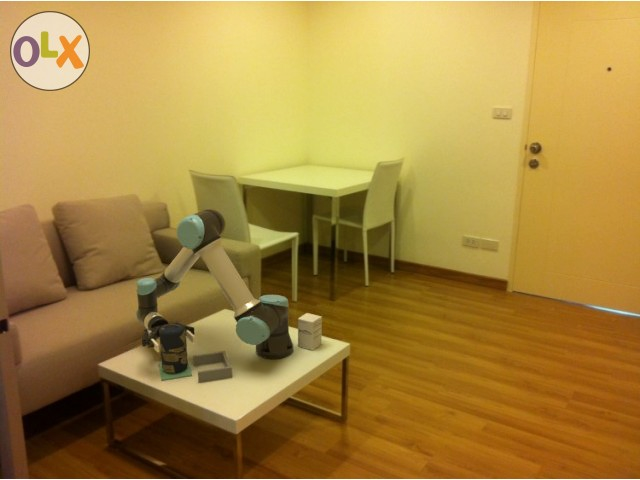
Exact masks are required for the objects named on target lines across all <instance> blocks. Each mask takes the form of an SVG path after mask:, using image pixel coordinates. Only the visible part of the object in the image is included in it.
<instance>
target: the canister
mask: <svg viewBox="0 0 640 480" xmlns="http://www.w3.org/2000/svg"><path fill="white" fill-rule="evenodd" d="M168 323H169V322H168ZM184 325H185V324H183V323H180V322H178V323H176V322H170V323H169V324H166V325H163V326H162V327H161V328H160V329H159V336H160V337H159V343H160V344H159V349H160V358H161V359H160V360H161V363H162V368H163V370H164V371H166V372H169V373H176V372H180V371H183V370H184V369H186V368H187V366H188V361H189V358H188V345H187V336H186V331H185V326H184Z"/></svg>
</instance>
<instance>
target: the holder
mask: <svg viewBox="0 0 640 480" xmlns="http://www.w3.org/2000/svg"><path fill="white" fill-rule="evenodd" d="M218 363H222V364H223V366H224V367H223V366H221V367H217V368H210V369H204V370H197V382H198V384H201V383H205V382H212V381H218V380H226V379H232V378H233V368H232V365H231V362H230V360H229V358H228V355H227V353H226V351H225V350H221V351H214V352H206V353H201V354H194V355H192V364H193V367H198V366H199V367H200V366H205V365H212V364H218Z"/></svg>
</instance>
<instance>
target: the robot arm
mask: <svg viewBox="0 0 640 480" xmlns="http://www.w3.org/2000/svg"><path fill="white" fill-rule="evenodd" d="M226 225H227V224H226V220H225V217H224V216H223V214H222V213H221V212H219V211H218V210H216V209H212V208H211V209H208V208H207V209H203V210H202V211H198V212H196V213H192V214H190V215H188V216H185V217H184V218H182V219H181V220H180V221H179V223H178V225H177V230H176V235H177V240H178V242H179V244H180V245H181V246H182V248H181V250H180V251H179V252H178V254H177V255H176V256H175V257H174V258H173V259H172V261H171V263H170V264H169V265H168V266H167V267H166V268H165V270H164V271H163V272H162V274H161V275H160V276H158V277H157V278H152V277H144V278H140V279H139V280H137V282H136V295H137V296H136V297H137V306H138V307H137V309H136V313H135V315H136V318H137V320H138V322H139V323H140V324H142V325H143V326H144V328H146V329H143V336H142V338H141V343H142V344H141V345H142V347H146V346H147V348H148V349H153V350H155V351H156V353H161V350H160V344H159V343H158V342H157V341H156V340H158V339H160V336H159V329H160V328H161V327H162V326H163V325H166V324H169V322H168V320H167V319H166V318H165V317H164V316H163V315H162V314H161V313H159V308H158V299H160V298H161V297H163V296H165V295H167V294H169V293H170V292H173V291H175V290H176V289H177V288H178V287H179V286H180V285H181V280H182V279H183V278H184V277H185V275H186V274H187V273H188V271H189V270H190V269H191V268H192V267H193V266H194V264H195V263H196V262H197V261H198V260H199V258H201V259H202V261H203V263H204V264H205V265H206V267H207V269H208V270H209V272H210V274H211V275H212V277H213V278H214V280H215V282H216V284H217V285H218V286H219V288H220V290H221V291H222V293H223V295H224V296H225V297H226V299H227V301H228V303H229V304H230V306H231V307H232V309H233V310H234V311H233V312H234V313H233V318H234V320H235V322H236V324H235V332H236V334H237V337H238V338H239V339H240V341H242V342H244V343H245V344H247V345H251V346H255V353H256V355H257V356H259V357H261V358H263V359H267V360H269V359H270V360H278V359H283V358H286V357H289V356H290V355H292V354H293V352H294V344H293V343H294V342H293V340H292V338H291V335H290V332H289V329H290V328H289V327H290V326H289V325H290V324H289V318H290V317H289V314H290V313H289V312H290V310H289V309H290V308H289V307H290V306H289V300H288V298H287V297H286V296H284V295H283V296H282V295H279V294H264V295H262V296H259V297H258V299H256V298H255V297H254V296H253V294H252V293H251V291H250V289H249V288H248V286H247V285H246V283H245V281H244V280H243V278H242V277H241V275H240V274H239V272H238V270H237V269H236V266H235V265H234V263H233V262H232V260H231V259H230V257H229V255H228V254H227V252H226V250H225V249H224V247H223V246H222V237H221V236H222V234H224V232H225V229H226ZM175 323H179V321H178V322H175ZM183 325H184V326H185V331H186V339H188V340H189V341H190V342H191V343H192V344H195V343H196V337H195V327H193V326H190V325H185V324H183Z"/></svg>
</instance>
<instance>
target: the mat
mask: <svg viewBox="0 0 640 480" xmlns="http://www.w3.org/2000/svg"><path fill="white" fill-rule="evenodd" d="M158 368H159V374H160V379H161V382H164V381H168V380H169V381H170V380H171V381H172V380H176V379H177V380H178V379H181V378H189V377H190V378H191V377H193V373H192V368H191V365H190V361H189V360H188V366H187V368H186V369H184V370H183V371H180V372H176V373H169V372H166V371H164V370H163V368H162V362H159V363H158Z"/></svg>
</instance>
